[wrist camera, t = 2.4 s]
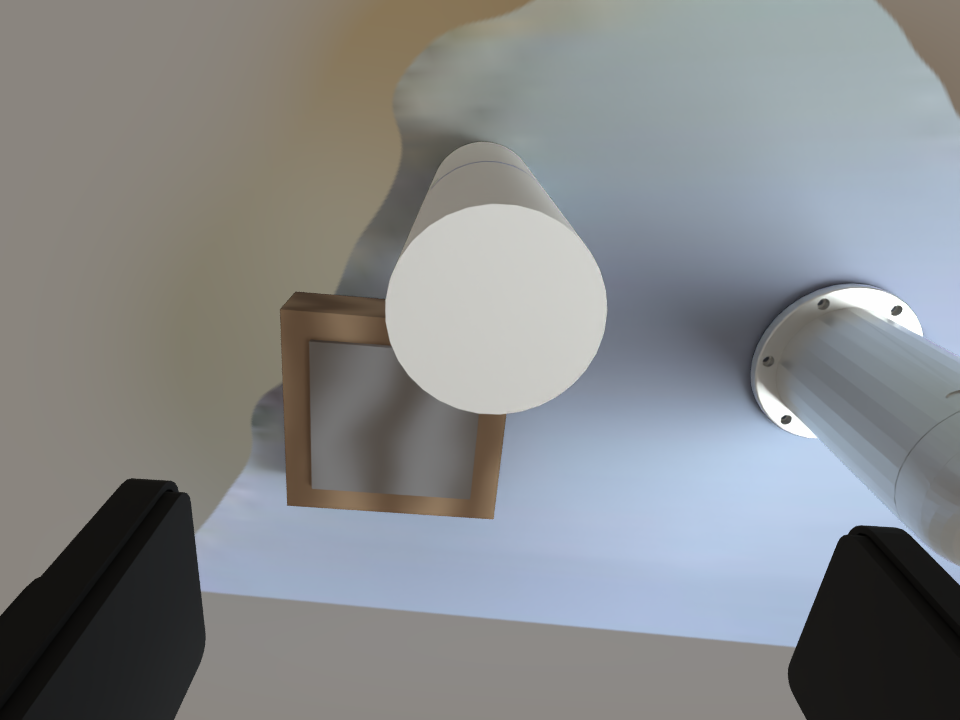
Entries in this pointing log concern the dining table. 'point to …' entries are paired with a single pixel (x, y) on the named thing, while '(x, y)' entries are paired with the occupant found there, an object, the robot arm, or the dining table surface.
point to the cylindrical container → (493, 289)
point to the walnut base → (375, 421)
